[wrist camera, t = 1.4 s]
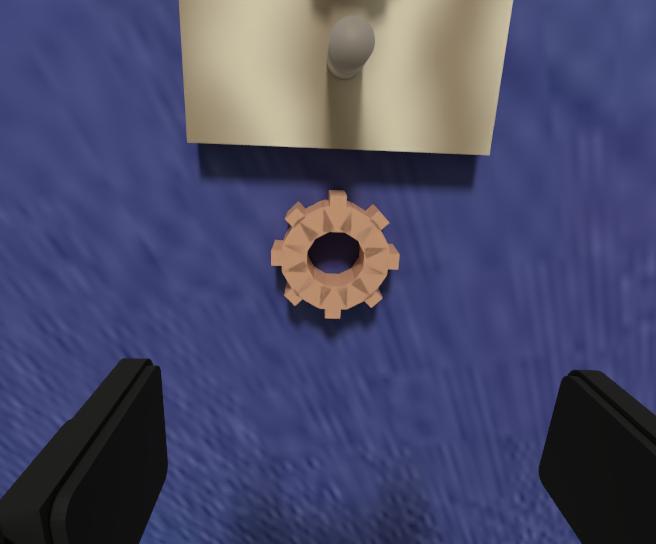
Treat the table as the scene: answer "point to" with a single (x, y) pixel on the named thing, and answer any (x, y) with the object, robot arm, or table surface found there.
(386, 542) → the table surface
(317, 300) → the terracotta gear
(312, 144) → the gear board
